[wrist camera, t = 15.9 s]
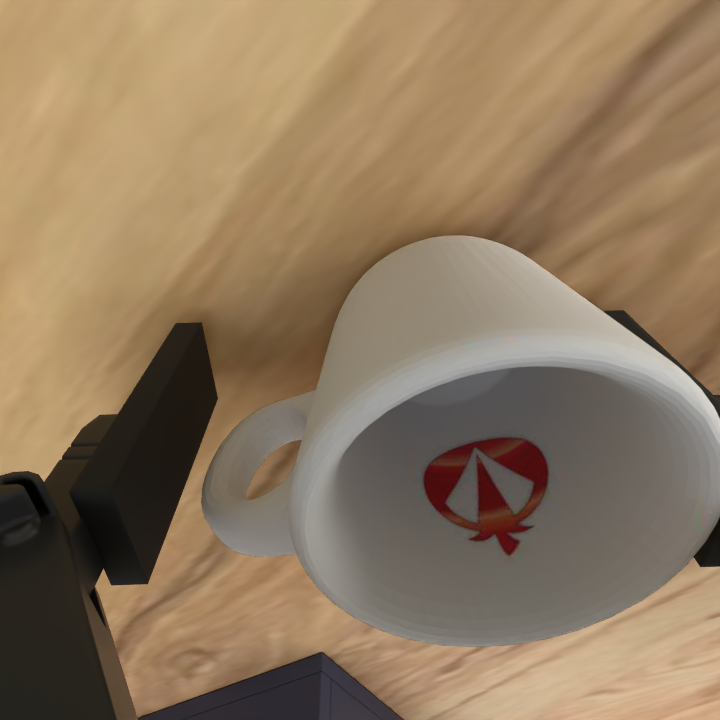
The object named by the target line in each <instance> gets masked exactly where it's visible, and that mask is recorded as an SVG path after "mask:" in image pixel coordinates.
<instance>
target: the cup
mask: <svg viewBox="0 0 720 720" xmlns="http://www.w3.org/2000/svg"><path fill="white" fill-rule="evenodd" d="M295 440H302V441H301V445H300V449H299V452H298V456H297V459H296V463H295V466H294V469H293V470H292V472H291V473H290V474H289V475H288V476H287V478H286V479H285V480H284V481H283V482H282V483H281V484H279V485H278V486H277V487H276V488H274V489H273V490H271V491H270V492H268V493H267V494H265V495H263V496H260V497H258V498H256V499H253V500H246V501H245V499H246V493H247V490H248V487H249V484H250V482H251V480H252V478H253V476H254V474H255V472H256V471H257V469H258V468H259V466H260V465H261V463H262V462H263V461H264V459H265V458H266V457H267V456H268V455H269V454H271V453H272V452H273V451H274V450H276V449H277V448H279V447H280V446H282V445H284V444H287V443H289V442H292V441H295ZM201 503H202V509H203V514H204V517H205V519H206V521H207V522H208V524H209V526H210V527H211V529H212V530H213V532H214V533H215V535H216V536H217V537H218V538H219V540H220V541H221V542H222V543H224V544H225V545H226V546H227V547H229V548H230V549H232V550H234V551H236V552H238V553H241V554H244V555H249V556H261V557H273V556H283V555H294V554H297V555H298V558H299V560H300V562H301V564H302V566H303V568H304V569H305V571H306V573H307V575H308V576H309V577H310V579H311V580H312V581H313V582H314V584H315V585H316V586H317V587H318V589H319V590H320V591H321V592H322V593H323V594H324V595H325V596H326V597H327V598H328V599H330V600H331V601H332V602H333V603H334V604H335V605H337V606H338V607H340V608H341V609H342V610H344V611H345V612H347V613H348V614H350V615H351V616H352V617H354V618H356V619H358V620H360V621H362V622H364V623H366V624H368V625H371V626H373V627H375V628H377V629H379V630H381V631H384V632H387V633H390V634H393V635H397V636H400V637H403V638H406V639H410V640H414V641H420V642H426V643H432V644H437V645H444V646H464V647H487V646H504V645H514V644H520V643H526V642H532V641H538V640H544V639H548V638H552V637H555V636H559V635H563V634H566V633H570V632H573V631H577V630H580V629H582V628H585V627H587V626H590V625H593V624H595V623H598V622H600V621H603V620H605V619H608V618H610V617H612V616H614V615H616V614H618V613H620V612H622V611H623V610H625V609H627V608H629V607H631V606H633V605H635V604H636V603H638V602H640V601H642V600H643V599H645V598H646V597H648V596H649V595H650V594H652V593H653V592H655V591H656V590H658V589H659V588H660V587H662V586H663V585H665V584H666V583H667V582H668V581H669V580H670V579H671V578H672V577H674V576H675V575H676V574H677V573H678V572H679V571H680V570H682V569H683V568H684V567H685V566H686V565H687V564H688V563H689V561H690V560H691V559H692V558H693V557H694V555H695V554H696V553H697V552H698V551H699V549H700V548H701V547H702V546H703V544H704V543H705V542H706V540H707V539H708V537H709V535H710V534H711V532H712V530H713V529H714V527H715V526H716V524H717V522H718V519H719V517H720V418H719V416H718V414H717V412H716V410H715V408H714V406H713V405H712V404H711V402H710V401H709V399H708V398H707V397H706V395H705V394H704V392H703V391H702V390H701V388H700V387H699V386H698V385H697V384H696V383H695V382H694V381H693V380H692V379H691V378H690V377H689V376H688V375H687V374H686V373H685V372H684V371H683V370H681V369H680V368H679V367H678V366H677V365H675V364H674V363H673V362H672V361H670V360H669V359H668V358H666V357H665V356H663V355H662V354H661V353H659V352H658V351H657V350H655V349H654V348H652V347H651V346H650V345H648V344H647V343H646V342H644V341H643V340H641V339H640V338H639V337H637V336H636V335H635V334H633V333H632V332H630V331H629V330H628V329H626V328H625V327H624V326H622V325H621V324H619V323H618V322H617V321H615V320H614V319H612V318H611V317H610V316H608V315H607V314H606V313H604V312H603V311H601V310H600V309H599V308H597V307H596V306H595V305H593V304H592V303H590V302H589V301H588V300H586V299H585V298H584V297H582V296H581V295H579V294H578V293H577V292H575V291H574V290H573V289H571V288H570V287H568V286H567V285H566V284H564V283H563V282H562V281H560V280H559V279H557V278H556V277H555V276H553V275H552V274H550V273H549V272H548V271H546V270H545V269H544V268H542V267H541V266H539V265H538V264H537V263H535V262H534V261H533V260H531V259H529V258H528V257H526V256H525V255H523V254H521V253H520V252H518V251H516V250H514V249H512V248H510V247H508V246H505V245H503V244H500V243H497V242H494V241H491V240H487V239H483V238H478V237H472V236H462V235H455V236H439V237H433V238H428V239H424V240H420V241H417V242H414V243H411V244H409V245H406V246H404V247H402V248H400V249H398V250H396V251H394V252H392V253H390V254H389V255H387V256H386V257H384V258H383V259H381V260H380V261H379V262H377V263H376V264H375V265H374V266H372V267H371V268H370V269H369V270H368V271H367V272H366V273H365V274H364V275H363V276H362V277H361V279H360V280H359V281H358V282H357V283H356V285H355V286H354V287H353V289H352V290H351V291H350V293H349V295H348V296H347V298H346V300H345V302H344V304H343V306H342V308H341V310H340V312H339V314H338V317H337V320H336V322H335V325H334V329H333V332H332V335H331V339H330V342H329V346H328V349H327V353H326V356H325V360H324V363H323V367H322V371H321V374H320V378H319V381H318V385H317V388H316V389H315V390H313V391H310V392H307V393H304V394H301V395H297V396H293V397H290V398H286V399H283V400H280V401H278V402H275V403H272V404H269V405H267V406H265V407H263V408H261V409H259V410H257V411H255V412H254V413H252V414H251V415H249V416H248V417H247V418H245V419H244V420H242V421H241V422H240V423H239V424H238V425H237V426H236V427H235V428H234V429H233V430H232V431H231V433H230V434H229V435H228V436H227V437H226V439H225V440H224V441H223V443H222V444H221V446H220V447H219V448H218V450H217V452H216V454H215V456H214V457H213V459H212V461H211V464H210V466H209V469H208V471H207V474H206V476H205V480H204V483H203V488H202V499H201Z"/></svg>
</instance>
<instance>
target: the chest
mask: <svg viewBox="0 0 720 720" xmlns="http://www.w3.org/2000/svg"><path fill="white" fill-rule="evenodd" d="M138 720H403V719H402V718H400V717H399V716H398V715H397V714H396V713H394V712H393V711H392V710H391V709H390V708H388V707H387V706H386V705H385V704H383V703H382V702H381V701H380V700H379V699H377V698H376V697H375V696H374V695H373V694H371V693H370V692H369V691H368V690H367V689H365V688H364V687H363V686H362V685H361V684H359V683H358V682H357V681H356V680H354V679H353V678H352V677H351V676H350V675H348V674H347V673H346V672H345V671H344V670H342V669H341V668H340V667H339V666H338V665H336V664H335V663H334V662H333V661H332V660H330V659H329V658H328V657H327V656H325V655H324V654H323V653H320V654H317V655H315V656H312V657H309V658H306V659H303V660H301V661H298V662H295V663H292V664H289V665H287V666H284V667H281V668H278V669H275V670H273V671H270V672H267V673H264V674H262V675H259V676H256V677H253V678H250V679H248V680H245V681H242V682H239V683H236V684H234V685H231V686H228V687H225V688H222V689H220V690H217V691H214V692H211V693H208V694H206V695H203V696H200V697H197V698H194V699H192V700H189V701H186V702H183V703H181V704H178V705H175V706H172V707H169V708H167V709H164V710H161V711H158V712H155V713H153V714H150V715H147V716H144V717H141V718H139V719H138Z"/></svg>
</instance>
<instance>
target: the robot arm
mask: <svg viewBox="0 0 720 720" xmlns="http://www.w3.org/2000/svg"><path fill="white" fill-rule="evenodd" d="M603 312H604V313H606V314H607V315H608V316H610V317H611V318H612V319H614V320H615V321H617V322H618V323H619V324H621V325H622V326H624V327H625V328H626V329H628V330H629V331H630V332H632V333H633V334H635V335H636V336H637V337H639V338H640V339H641V340H643V341H644V342H646V343H647V344H648V345H650V346H651V347H652V348H654V349H655V350H657V351H658V352H659V353H661V354H662V355H663V356H665V357H666V358H668V359H669V360H670V361H672V362H673V363H674V364H675V365H677V366H678V367H679V368H680V369H681V370H683V371H684V372H685V373H686V374H687V375H688V376H689V377H690V378H691V379H692V380H693V381H694V382H695V383H696V384H697V385H698V386H699V387H700V388H701V390H702V391H703V392H704V394H705V395H706V397H707V398H708V399H709V401H710V402H711V404H712V405H713V406H714V408H715V410H716V412H717V414H718V416H719V418H720V395H713V394H712V393H710V392H709V391H708V390H707V389H706V388H705V387H704V386H703V385H702V384H701V383H700V382H699V381H698V380H697V379H696V378H695V377H694V376H692V375H691V374H690V373H689V372H688V371H687V370H686V369H685V368H684V367H683V366H682V365H681V364H680V363H679V362H678V361H677V360H676V359H674V358H673V357H672V356H671V355H670V354H669V353H668V352H667V351H666V350H665V349H664V348H663V347H662V346H661V345H660V344H659V343H658V342H656V341H655V340H654V339H653V338H652V337H651V336H650V335H649V334H648V333H647V332H646V331H645V330H644V329H643V328H642V327H641V326H639V325H638V324H637V323H636V322H635V321H634V320H633V319H632V318H631V317H630V316H629V315H628V314H627V313H626V312H625V311H624V310H619V311H603ZM217 399H218V397H217V392H216V387H215V382H214V378H213V373H212V368H211V363H210V359H209V354H208V349H207V344H206V340H205V335H204V330H203V326H202V323H176V324H175V325H174V327H173V329H172V330H171V332H170V333H169V335H168V336H167V338H166V339H165V341H164V343H163V344H162V346H161V347H160V349H159V350H158V352H157V354H156V355H155V357H154V358H153V360H152V361H151V363H150V365H149V366H148V368H147V369H146V371H145V372H144V374H143V376H142V377H141V379H140V380H139V382H138V383H137V385H136V387H135V388H134V390H133V391H132V393H131V394H130V396H129V398H128V399H127V401H126V402H125V404H124V405H123V407H122V409H121V410H120V412H119V413H118V414H113V415H99V416H98V417H97V418H95V419H94V420H93V421H91V422H90V423H89V424H87V425H86V426H85V427H83V428H82V429H81V431H80V432H79V434H78V435H77V436H76V438H75V439H74V441H73V442H72V443H71V447H69V448H68V449H67V451H66V452H65V453H64V455H63V456H62V460H59V462H58V463H57V465H56V466H55V467H54V469H53V470H52V472H51V473H50V475H49V476H48V477H47V479H46V480H45V482H43V480H42V479H41V477H40V476H39V475H38V474H35V473H32V472H29V471H24V472H12V473H8V474H5V475H1V476H0V720H138V718H137V715H136V712H135V709H134V706H133V702H132V699H131V696H130V693H129V689H128V686H127V683H126V680H125V677H124V673H123V670H122V667H121V664H120V661H119V657H118V654H117V651H116V648H115V645H114V641H113V638H112V635H111V632H110V629H109V625H108V622H107V619H106V616H105V613H104V609H103V606H102V603H101V600H100V597H99V594H98V592H97V590H96V588H95V585H96V583H97V581H98V578H99V576H100V574H101V572H102V570H103V568H104V570H105V572H106V575H107V577H108V579H109V581H110V583H111V585H133V584H148V582H149V579H150V577H151V574H152V571H153V569H154V566H155V564H156V561H157V558H158V556H159V553H160V550H161V548H162V545H163V542H164V540H165V537H166V534H167V532H168V529H169V526H170V524H171V521H172V519H173V516H174V513H175V511H176V508H177V505H178V503H179V500H180V497H181V495H182V492H183V489H184V487H185V484H186V482H187V479H188V476H189V474H190V471H191V468H192V466H193V463H194V460H195V458H196V455H197V452H198V450H199V447H200V444H201V442H202V439H203V437H204V434H205V431H206V429H207V426H208V423H209V421H210V418H211V415H212V413H213V410H214V407H215V405H216V402H217ZM694 558H695V560H696V561H697V562H698V564H699V565H700V567H716V566H720V517H719V519H718V522H717V524H716V526H715V527H714V529H713V530H712V532H711V534H710V535H709V537H708V539H707V540H706V542H705V543H704V544H703V546H702V547H701V548H700V549H699V551H698V552H697V553H696V554H695V555H694Z"/></svg>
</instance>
